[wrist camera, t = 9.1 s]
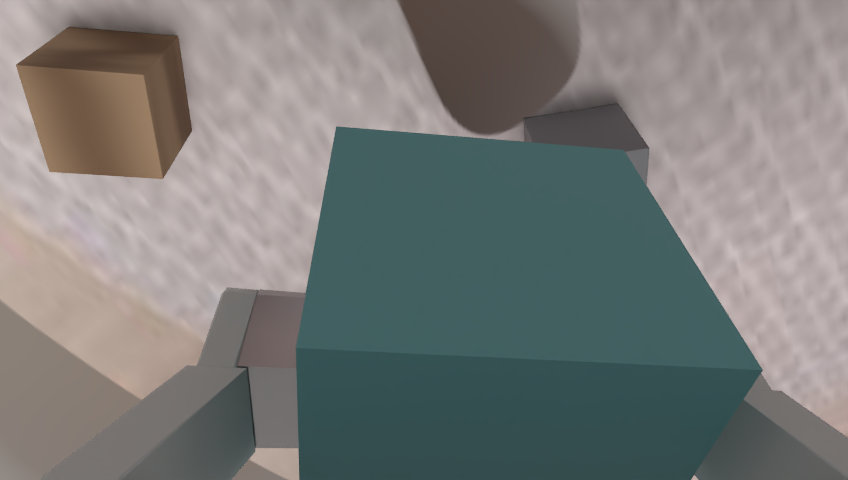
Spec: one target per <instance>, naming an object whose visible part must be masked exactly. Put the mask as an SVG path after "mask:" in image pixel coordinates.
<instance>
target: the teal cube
mask: <svg viewBox="0 0 848 480" xmlns="http://www.w3.org/2000/svg"><path fill="white" fill-rule="evenodd" d="M761 372H762V368H761V367H760V365H759V364H758V362H757V360H756V359H755V357H754V356H753V354H752V352H751V351H750V349H749V348H748V346H747V345H746V343H745V341H744V340H743V338H742V337H741V335H740V333H739V332H738V330H737V329H736V327H735V325H734V324H733V322H732V321H731V319H730V318H729V316H728V314H727V313H726V311H725V310H724V308H723V306H722V305H721V303H720V302H719V300H718V299H717V297H716V295H715V294H714V292H713V291H712V289H711V287H710V286H709V284H708V283H707V281H706V280H705V278H704V276H703V275H702V273H701V272H700V270H699V268H698V267H697V265H696V264H695V262H694V261H693V259H692V257H691V256H690V254H689V253H688V251H687V249H686V248H685V246H684V245H683V243H682V241H681V240H680V238H679V237H678V235H677V234H676V232H675V230H674V229H673V227H672V226H671V224H670V222H669V221H668V219H667V218H666V216H665V215H664V213H663V211H662V210H661V208H660V207H659V205H658V203H657V202H656V200H655V199H654V197H653V196H652V194H651V192H650V191H649V189H648V188H647V186H646V184H645V183H644V181H643V180H642V178H641V177H640V175H639V173H638V172H637V170H636V169H635V167H634V165H633V164H632V162H631V161H630V159H629V157H628V156H627V154H626V153H625V151H624V150H618V149H605V148H593V147H581V146H569V145H556V144H544V143H532V142H519V141H507V140H495V139H483V138H470V137H458V136H446V135H433V134H421V133H409V132H397V131H384V130H372V129H360V128H347V127H336V131H335V137H334V142H333V148H332V153H331V159H330V164H329V170H328V175H327V181H326V186H325V191H324V197H323V202H322V208H321V213H320V219H319V224H318V230H317V235H316V241H315V246H314V251H313V257H312V262H311V268H310V273H309V279H308V284H307V290H306V295H305V300H304V306H303V311H302V317H301V322H300V328H299V333H298V339H297V344H296V373H297V408H298V443H299V478H300V480H691V479H692V477H693V476H694V474H695V472H696V471H697V469H698V468H699V466H700V465H701V463H702V462H703V460H704V459H705V457H706V456H707V454H708V453H709V451H710V450H711V448H712V447H713V445H714V444H715V442H716V440H717V439H718V437H719V436H720V434H721V433H722V431H723V430H724V428H725V427H726V425H727V424H728V422H729V421H730V419H731V418H732V416H733V415H734V413H735V412H736V410H737V409H738V407H739V405H740V404H741V402H742V401H743V399H744V398H745V396H746V395H747V393H748V392H749V390H750V389H751V387H752V386H753V384H754V383H755V381H756V380H757V378H758V377H759V375H760V373H761Z"/></svg>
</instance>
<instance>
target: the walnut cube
mask: <svg viewBox="0 0 848 480" xmlns="http://www.w3.org/2000/svg"><path fill="white" fill-rule="evenodd" d="M16 67H17V70H18V73H19V76H20V79H21V83H22V86H23V89H24V92H25V95H26V99H27V102H28V105H29V108H30V111H31V114H32V118H33V121H34V124H35V127H36V130H37V133H38V137H39V140H40V143H41V146H42V149H43V153H44V156H45V159H46V162H47V165H48V168H49V172H62V173H77V174H93V175H109V176H125V177H141V178H157V179H163V178H164V176H165V175H166V173H167V171H168V170H169V168H170V166H171V165H172V163H173V161H174V160H175V158H176V156H177V155H178V153H179V151H180V150H181V148H182V146H183V145H184V143H185V141H186V140H187V138H188V136H189V135H190V133H191V131H192V128H191V121H190V114H189V107H188V100H187V93H186V86H185V80H184V73H183V66H182V59H181V52H180V45H179V39H178V36H172V35H160V34H148V33H136V32H124V31H112V30H100V29H88V28H76V27H68V28H67V29H65V30H64V31H62V32H61V33H60V34H58V35H57V36H56V37H54V38H53V39H51V40H50V41H49V42H47V43H46V44H44V45H43V46H42V47H40V48H39V49H37V50H36V51H35V52H33V53H32V54H31V55H29V56H28V57H26V58H25V59H24V60H22V61H21V62H19V63H18V64H17V65H16Z"/></svg>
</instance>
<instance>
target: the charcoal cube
mask: <svg viewBox="0 0 848 480" xmlns="http://www.w3.org/2000/svg"><path fill="white" fill-rule="evenodd" d="M523 122H524V136H525V142H532V143H544V144H556V145H569V146H581V147H593V148H605V149H618V150H624V151H625V153H626V154H627V156H628V157H629V159H630V161H631V162H632V164H633V165H634V167H635V169H636V170H637V172H638V173H639V175H640V177H641V178H642V180H643V181H644V183H645V184H647V171H648V159H649V147H648V145H647V144H646V143H645V141H644V140H643V138H642V137H641V135H640V134H639V133H638V131H637V130H636V128H635V127H634V125H633V124H632V123H631V121H630V120H629V118H628V117H627V115H626V114H625V113H624V111H623V110H622V108H621V107H620V106H619V104H612V105H605V106H599V107H593V108H586V109H580V110H574V111H567V112H561V113H555V114H548V115H542V116H536V117H532V116H531V117H525V118H523Z"/></svg>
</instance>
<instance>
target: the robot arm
mask: <svg viewBox="0 0 848 480" xmlns="http://www.w3.org/2000/svg"><path fill="white" fill-rule="evenodd" d="M305 295H306V293H299V292H286V291H273V290H261V289H260V290H252V289H239V288H227V289H226V290H225V291H224V292H223V293H222V295H221V298H220V301H219V304H218V307H217V310H216V312H215V315H214V318H213V321H212V324H211V327H210V330H209V332H208V335H207V338H206V341H205V344H204V347H203V349H202V352H201V355H200V358H199V361H198V364H197V366H185V367H184V368H183V369H181V370H180V371H179V372H178V373H176V374H175V375H174V376H172V377H171V378H170V379H168V380H167V381H166V382H165V383H163V384H162V385H161V386H159V387H158V388H157V389H155V390H154V391H153V392H152V393H150V394H149V395H148V396H146V397H145V398H144V399H142V400H141V401H140V402H139V403H137V404H136V405H135V406H133V407H132V408H131V409H129V410H128V411H127V412H126V413H124V414H123V415H122V416H120V417H119V418H118V419H116V420H115V421H114V422H112V423H111V424H110V425H109V426H107V427H106V428H105V429H103V430H102V431H101V432H100V433H98V434H97V435H96V436H94V437H93V438H92V439H91V440H89V441H88V442H86V443H85V444H84V445H83V446H81V447H80V448H79V449H77V450H76V451H75V452H74V453H72V454H71V455H70V456H68V457H67V458H66V459H64V460H63V461H62V462H60V463H59V464H58V465H57V466H55V467H54V468H53V469H51V470H50V471H49V472H48V473H46V474H45V475H44V476H43V477H42V479H41V480H231V479H232V478H233V477H234V476H235V474H236V473H237V472H238V471H239V470H240V469H241V468H242V466H243V465H244V464H245V463H246V461H247V460H248V459H249V458H250V457H251V456H252V455H253V453H254V452H255V448H299V443H298V408H297V373H296V344H297V339H298V333H299V328H300V322H301V317H302V311H303V306H304V300H305ZM694 475H695V476H696V477H697V478H698V479H699V480H848V438H847V437H846V436H845V435H843V434H842V433H840V432H839V431H837V430H836V429H835V428H833V427H832V426H830V425H829V424H827V423H826V422H825V421H823V420H822V419H820V418H819V417H817V416H816V415H815V414H813V413H812V412H810V411H809V410H808V409H806V408H805V407H803V406H802V405H800V404H799V403H798V402H796V401H795V400H793V399H792V398H790V397H789V396H788V395H786V394H785V393H783V392H782V391H774V390H771V388H770V387H769V385H768V383H767V382H766V380H765V379H764V377H763V375H762V374H761V373H760V375H759V377H758V378H757V380H756V381H755V383H754V384H753V386H752V387H751V389H750V390H749V392H748V393H747V395H746V396H745V398H744V399H743V401H742V402H741V404H740V405H739V407H738V409H737V410H736V412H735V413H734V415H733V416H732V418H731V419H730V421H729V422H728V424H727V425H726V427H725V428H724V430H723V431H722V433H721V434H720V436H719V437H718V439H717V440H716V442H715V444H714V445H713V447H712V448H711V450H710V451H709V453H708V454H707V456H706V457H705V459H704V460H703V462H702V463H701V465H700V466H699V468H698V469H697V471H696V472H695V474H694Z"/></svg>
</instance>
